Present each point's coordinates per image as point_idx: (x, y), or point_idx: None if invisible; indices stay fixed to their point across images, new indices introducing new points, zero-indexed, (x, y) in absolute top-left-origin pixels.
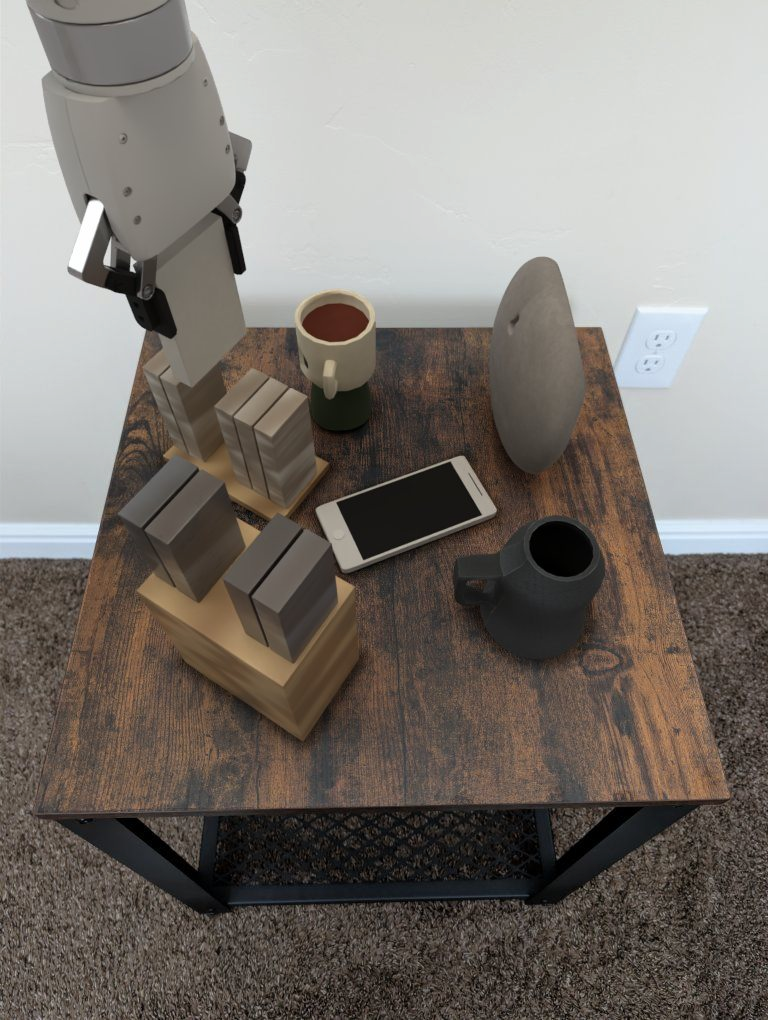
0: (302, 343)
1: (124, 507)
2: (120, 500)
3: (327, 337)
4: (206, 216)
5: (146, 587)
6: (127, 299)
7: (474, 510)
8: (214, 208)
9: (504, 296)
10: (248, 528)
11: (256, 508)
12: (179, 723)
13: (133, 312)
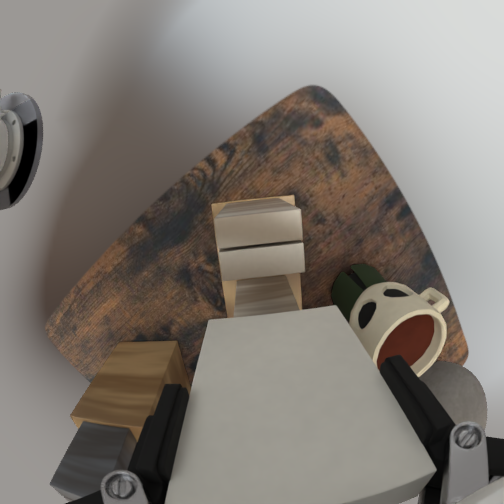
0: (369, 338)
1: (54, 486)
2: (157, 205)
3: (388, 348)
4: (410, 491)
5: (75, 419)
6: (132, 456)
7: None
8: (442, 472)
9: (462, 409)
10: None
11: (227, 311)
12: (101, 358)
13: (142, 434)
